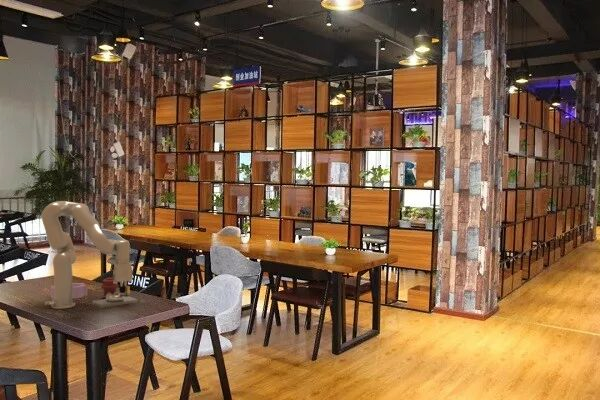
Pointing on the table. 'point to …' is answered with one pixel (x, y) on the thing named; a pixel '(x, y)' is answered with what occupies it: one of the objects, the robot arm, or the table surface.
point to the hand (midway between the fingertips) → (122, 292)
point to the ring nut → (117, 295)
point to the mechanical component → (109, 286)
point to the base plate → (104, 303)
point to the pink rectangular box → (75, 290)
